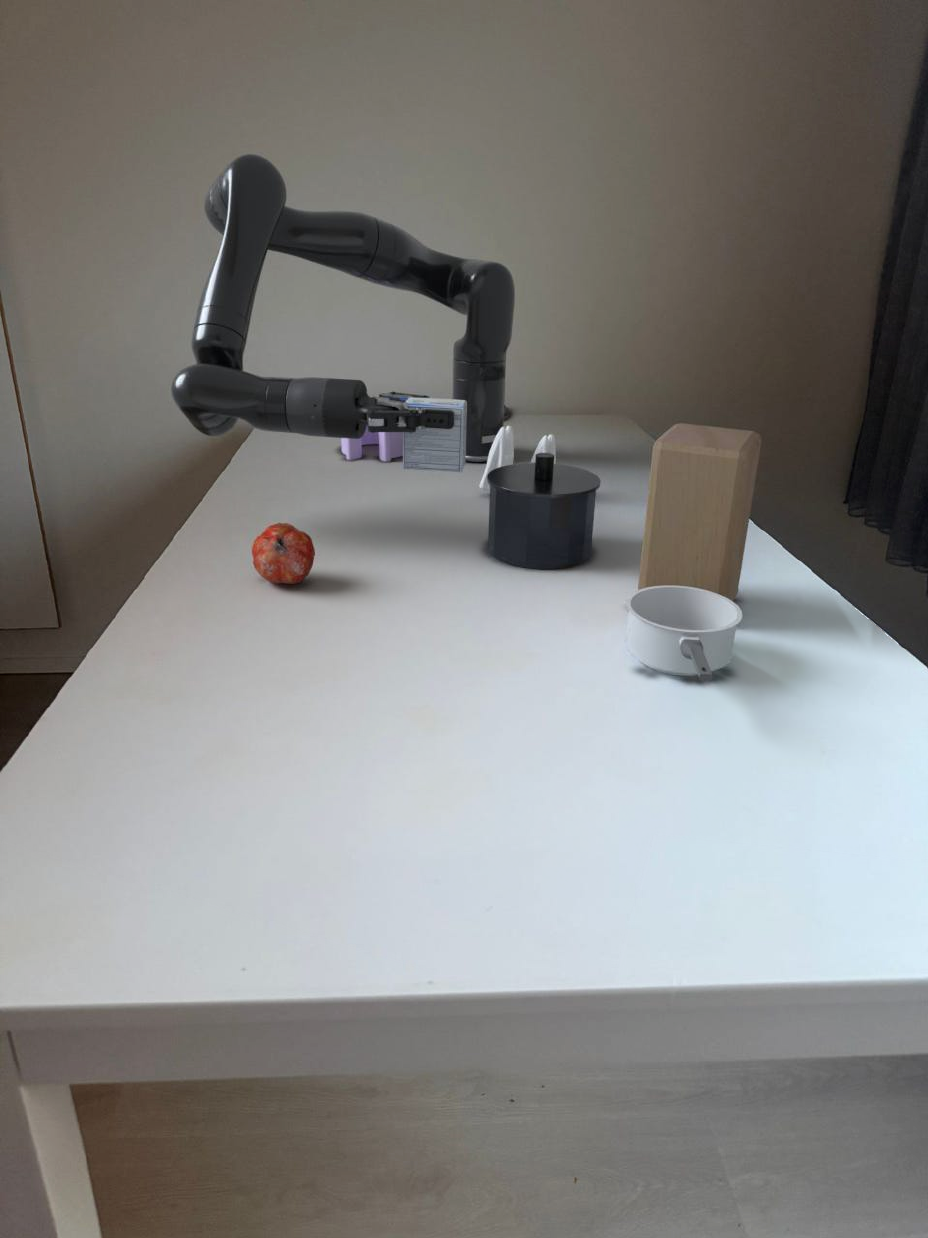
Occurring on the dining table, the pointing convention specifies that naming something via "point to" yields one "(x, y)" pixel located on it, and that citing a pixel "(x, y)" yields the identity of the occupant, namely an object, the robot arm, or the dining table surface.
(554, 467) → the pot lid
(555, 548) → the pot
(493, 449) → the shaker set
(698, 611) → the saucepan
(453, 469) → the medicine box
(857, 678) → the dining table surface
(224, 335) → the robot arm
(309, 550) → the pomegranate
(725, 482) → the wooden block
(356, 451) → the clip
